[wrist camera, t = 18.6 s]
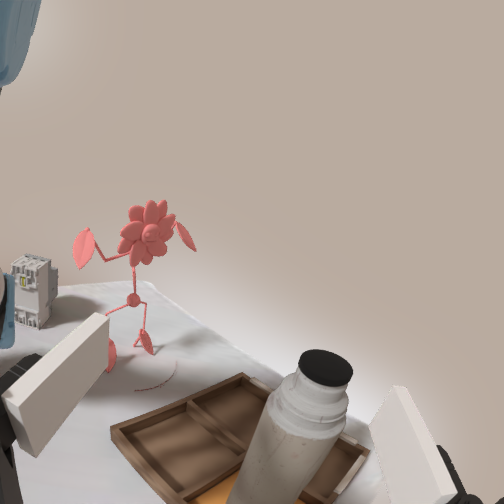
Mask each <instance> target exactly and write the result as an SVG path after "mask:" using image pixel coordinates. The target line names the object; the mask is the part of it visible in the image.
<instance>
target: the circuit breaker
mask: <svg viewBox="0 0 504 504" xmlns="http://www.w3.org/2000/svg"><path fill="white" fill-rule="evenodd" d="M11 265H12V269H11V270H10V275H13V277H14V278H15V311H16V313H15V321H14V323H17V324H20V325H23V326H26V327H29V328H33V329H36V330H39V327H40V328H41V327H42V326H43V325H44V323H45V322H46V321H47V320H48V319H49V317H50V316H51V308H50V306H51V301H52V300H53V299H54V298H55V297H56V296H57V295H58V269H57V268H54V267H51V259H47V258H43V257H38V256H34V255H30V254H25V255H23V256H21V257H20V258H18V259H17V260H15V261H14V262H13V263H11ZM35 326H36V327H35Z"/></svg>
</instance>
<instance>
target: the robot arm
mask: <svg viewBox="0 0 504 504" xmlns="http://www.w3.org/2000/svg"><path fill="white" fill-rule="evenodd" d="M40 4H41V0H0V94H1V90H2V87H3V86H5V85H8V84H10V83H11V82H13V81H14V80H15V79H16V77H17V76H18V74H19V72H20V70H21V68H22V66H23V63H24V61H25V58H26V55H27V52H28V48H29V44H30V38H31V36H32V35H33V32H34V28H35V25H36V21H37V17H38V12H39V8H40ZM14 317H15V278H14V277H13V276H12V275H9V274H7V273H2V270H1V268H0V349H8V348H11V347H12V346H13V345H14V342H15V323H14V321H15V318H14ZM109 319H110V317H107V316H104V315H102V314H99V313H96V312H95V313H93V314H92V315H91V316H90V317H89V318H88V319H86V320H85V321H84V322H83V323H82V324H80V325H79V326H78V327H77V328H76V329H75V330H73V331H72V332H71V333H70V334H69V335H68V336H66V337H65V338H64V339H63V340H62V341H61V342H59V343H58V344H57V345H56V346H55V347H54V348H53V349H51V350H50V351H49V352H48V353H47V354H46V355H45V356H44V357H42V356H40V355H38V354H36V353H35V354H32V355H29V356H27V357H24V358H23V359H22V360H21V361H20V362H18V363H17V364H16V366H14V367H13V368H11V369H10V371H8V372H7V373H6V374H4V375H3V376H2V377H1V378H0V504H23V500H22V496H21V491H20V487H19V482H18V476H17V471H16V465H15V459H14V452H13V447H12V443H13V442H14V441H15V440H16V439H17V442H18V444H19V447H20V448H21V449H22V450H24V451H25V452H27V453H29V454H30V455H32V456H33V457H35V458H37V457H38V455H39V454H40V453H41V451H42V450H43V449H44V447H45V446H46V445H47V443H48V442H49V441H50V439H51V438H52V437H53V435H54V434H55V433H56V431H57V430H58V429H59V427H60V426H61V425H62V424H63V422H64V421H65V420H66V418H67V417H68V416H69V414H70V413H71V412H72V411H73V409H74V408H75V407H76V405H77V404H78V403H79V402H80V400H81V399H82V398H83V397H84V395H85V394H86V393H87V392H88V390H89V389H90V388H91V387H92V385H93V384H94V383H95V382H96V380H97V379H98V378H99V377H100V375H101V374H102V373H103V372H104V370H105V369H106V368H107V367H108V349H109ZM368 427H369V430H370V433H371V436H372V440H373V443H374V446H375V450H376V453H377V456H378V460H379V463H380V467H381V470H382V474H383V477H384V481H385V484H386V488H387V492H388V495H389V499H390V503H391V504H483V503H482V501H481V500H480V499H479V498H478V497H477V496H475V495H472V494H467V493H466V491H465V489H464V487H463V485H462V482H461V480H460V478H459V476H458V474H457V472H456V470H454V469H455V468H454V466H453V464H452V463H451V459H450V457H449V456H448V453H447V452H446V451H445V450H444V449H443V448H442V447H441V446H440V445H435V443H434V440H433V438H432V436H431V434H430V432H429V430H428V428H427V426H426V424H425V422H424V420H423V418H422V417H421V414H420V413H419V411H418V409H417V407H416V405H415V403H414V401H413V399H412V397H411V395H410V393H409V392H408V390H407V388H406V387H402V386H395V385H393V386H392V388H391V389H390V392H389V393H388V395H387V397H386V398H385V400H384V402H383V403H382V405H381V407H380V409H379V410H378V412H377V413H376V415H375V417H374V418H373V420H372V422H371V423H370V425H369V426H368ZM495 504H504V497H503V498H501V499H500V500H499V501H498V502H497V503H495Z"/></svg>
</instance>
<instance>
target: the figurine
mask: <svg viewBox="0 0 504 504" xmlns="http://www.w3.org/2000/svg"><path fill="white" fill-rule="evenodd" d="M166 213H167V202H166V200H161V201H160V202H159V203H158V204H156V203H155V202H154V201H152V200H149V201H148V202H147V203H146V206H145V208H144V207H141V206H139V205H138V206H132V207H130V209H129V218H130V221H131V222H130V223H129V224H127V225H126V226H125V227H123V228H122V230H121V231H120V236H122V237H123V238H122V239H121V241H120V243H119V245H118V253H119V255H116V256H114V257H110V258H107V259H105V257H104V255H103V254H102V252H101V250H100V249H99V247H98V245H97V244H96V242H95V240H94V236H93V234H92V233H91V232H90V229H89V228H88V227H87V228H85V230H84V231H81V232H80V233H79V235H78V236H77V237H76V239H75V241H74V244H73V257H74V260H75V262H76V265H77V266H78V268H79V269H81V268H82V267H83V266H84V265H85V264H86V263H87V262H88V261H89V260H90V259H91V257H92V255H93V252H94V247H96V249H97V251H98V252H99V254H100V256H101V257H102V259H103V260H104V261H105V262H108V261H110V260H113V259H116V258H119V257H122V256H125V255H127V254H130V265H131V267H132V271H133V286H134V293H132V294H130V295H129V296H128V297H127V303H128V304H126V305H123V306H121V307H119V308H116V309H114V310H112V311H109V312H107V313H106V314H105V316H107V314H109V313H112V312H114V311H116V310H119V309H121V308H123V307H126V306H128V305H129V306H131V307H137V306H138V305H139V304H140V303H142V304H145V311H144V322H143V329H140V330H139V337H138V338H137V340H136V341H135V343H134V344H133V347H135V346H136V344H137V343H138V341H139V340H140V341H141V344H142V346H143V348H144V349H145V350H146V351H147V352H148V353H150V354H152V355H154V354H153V347H152V342H151V339H150V337H149V335H148V333H147V332H146V331H145V330H144V329H145V318H146V307H147V303H145V302H141V301H140V297H139V296H138V295H137V294H136V274H135V266H137V265H138V264H139V262H140V261H141V262H142V263H143V264H145V265H148V264H150V263H151V261H152V259H153V256H158V257H159V256H163V255H165V254H166V252H167V246H166V245H165V243H164V242H166V241H168V240H169V239H170V238H171V237H172V235H173V234H174V233H173V230H172V229H173V228H174V226H175V225H176V229H177V231H178V233H179V235H180V237H181V239H182V240H183V242H184V243H185V244H186V245H187V246H188V247H189V248H190V249H192V250H193V251H195V252H196V248H195V245H194V243H193V240H192V238H191V236H190V235H189V233H188V231H187V230H186V229H185V227H184V226H182V225H181V224H180V223H178V222H177V221H175V215H174V214H170V215H167V216H166ZM116 356H117V355H116V348H115V345H114V342H113V341H112V340H111V339H110V338H109V349H108V367H107V368H106V369H105V370H106V371H107V372H108V373H109V372H110V371H111V369H112V367H113V366H114V364H115V361H116ZM172 376H173V375H172ZM172 376H171V377H172ZM167 381H168V380H167ZM167 381H166V382H167ZM163 384H164V383H163ZM161 385H162V384H161ZM159 386H160V385H159ZM163 386H164V385H163ZM157 387H158V386H157ZM154 388H155V387H154ZM160 388H161V387H160ZM150 389H152V388H150ZM145 390H148V389H145ZM135 391H143V390H135Z"/></svg>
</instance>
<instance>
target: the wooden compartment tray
mask: <svg viewBox="0 0 504 504" xmlns="http://www.w3.org/2000/svg"><path fill="white" fill-rule="evenodd" d="M273 391H274V390H273V389H271V388H269V387H268V386H266V385H265V384H263V383H262V382H260V381H259V380H257V379H256V378H255V377H253V378H250V377H249V376H247V375H246V374H244V373H243V372H241V373H239V374H237V375H235V376H233V377H231V378H229V379H226V380H224V381H222V382H220V383H218V384H216V385H213V386H211V387H209V388H207V389H204V390H202V391H200V392H197V393H195V394H193V395H190V396H188V397H186V398H183V399H181V400H179V401H176V402H174V403H171V404H169V405H166V406H164V407H161V408H159V409H156V410H154V411H151V412H148V413H146V414H143V415H140V416H138V417H135V418H132V419H130V420H127V421H124V422H121V423H118V424H115V425H113V426H110V432H111V440H112V441H113V443H114V444H115V445H116V447H117V448H118V449H119V450H120V452H121V453H122V454H123V455H124V457H125V458H126V459H127V460H128V462H129V463H130V464H131V465H132V466H133V468H134V469H135V470H136V471H137V472H138V473H139V474H140V476H141V477H142V478H143V479H144V480H145V481H146V482H147V483H148V485H149V486H150V487H151V488H152V489H153V490H154V491H155V492H156V493H157V494H158V495H159V496H160V497H161V498H162V499H163V500H164V501H165V502H166V504H225V503H226V501H227V499H228V496H229V494H230V492H231V490H232V487H233V485H234V483H235V481H236V479H237V477H238V474H239V471H240V468H241V466H242V463H243V461H244V458H245V456H246V453H247V451H248V448H249V446H250V443H251V441H252V438H253V436H254V433H255V431H256V428H257V425H258V423H259V420H260V418H261V415H262V412H263V410H264V407H265V404H266V402H267V399H268V397H269V395H270V394H271V393H272V392H273ZM357 442H358V440H356V439H354V438H352V437H350V436H349V435H347V434H345V433H343V432H341V434H340V436H339V437H338V439H337V441H336V442H335V444H334V446H333V447H332V449H331V450H330V452H329V454H328V455H327V457H326V458H325V460H324V461H323V463H322V464H321V466H320V467H319V469H318V470H317V472H316V473H315V475H314V476H313V478H312V479H311V480H310V482H309V483H308V484H307V485H306V487H305V488H304V489H303V490H302V492H301V493H300V495H299V497H298V499H297V500H296V501H295V503H294V504H332V503H333V502H334V500H335V499H336V498H337V496H338V495H340V494H341V492H342V491H343V490H344V489H345V487H346V486H347V485H348V483H349V482H350V480H351V479H352V478H353V476H354V475H355V473H356V472H357V471H358V469H359V468H360V466H361V465H362V463H363V462H364V460H365V459H366V456H367V455H368V453H369V452H370V450H368V449H367V448H365V447H363V446H361V445H359V444H357Z"/></svg>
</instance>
